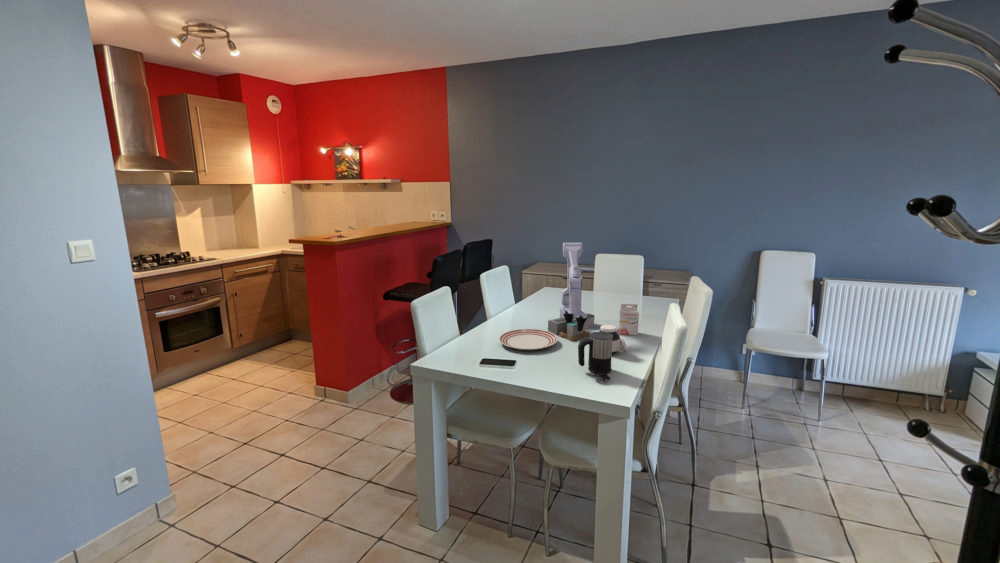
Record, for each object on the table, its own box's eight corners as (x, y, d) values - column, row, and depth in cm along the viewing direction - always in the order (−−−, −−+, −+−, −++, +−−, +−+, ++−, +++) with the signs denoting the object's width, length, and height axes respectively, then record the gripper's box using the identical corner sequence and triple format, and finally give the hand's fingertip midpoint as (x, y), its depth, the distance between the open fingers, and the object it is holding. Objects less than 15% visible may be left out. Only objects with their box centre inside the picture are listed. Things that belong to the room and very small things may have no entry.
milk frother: (602, 364, 195) (603, 330, 192) (628, 377, 182) (630, 340, 179) (573, 370, 189) (574, 335, 186) (598, 385, 175) (600, 347, 172)
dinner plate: (554, 356, 206) (554, 348, 205) (493, 352, 212) (493, 345, 211) (559, 336, 232) (559, 330, 232) (505, 333, 238) (505, 327, 237)
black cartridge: (578, 326, 248) (579, 315, 247) (588, 324, 252) (589, 313, 250) (584, 328, 245) (584, 317, 243) (594, 326, 248) (594, 315, 247)
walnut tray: (559, 336, 232) (559, 331, 232) (577, 331, 239) (577, 327, 238) (571, 341, 225) (571, 336, 224) (590, 336, 231) (590, 332, 231)
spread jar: (592, 351, 211) (593, 326, 209) (608, 345, 218) (609, 321, 216) (615, 358, 202) (616, 332, 200) (630, 352, 209) (631, 327, 207)
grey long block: (547, 331, 240) (547, 319, 238) (573, 326, 249) (573, 314, 247) (556, 335, 234) (557, 323, 232) (582, 329, 243) (582, 317, 241)
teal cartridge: (566, 335, 231) (567, 323, 230) (577, 332, 235) (577, 321, 234) (572, 337, 228) (572, 325, 227) (583, 334, 232) (583, 323, 231)
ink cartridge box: (620, 334, 233) (621, 306, 230) (618, 331, 238) (620, 303, 235) (638, 335, 232) (639, 306, 229) (636, 332, 237) (637, 303, 234)
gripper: (559, 300, 232) (558, 326, 235) (579, 306, 220) (578, 334, 223) (570, 298, 236) (569, 324, 238) (590, 304, 224) (589, 331, 226)
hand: (574, 329), depth 231 cm, fingers open, 7 cm apart
